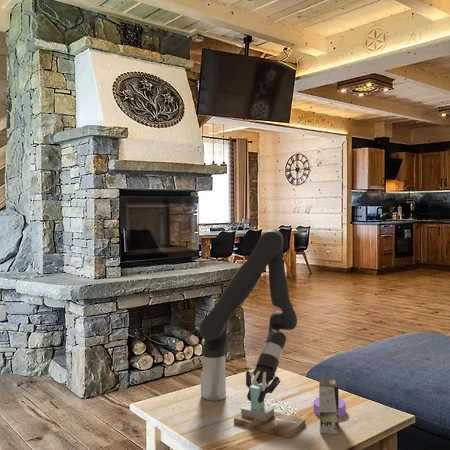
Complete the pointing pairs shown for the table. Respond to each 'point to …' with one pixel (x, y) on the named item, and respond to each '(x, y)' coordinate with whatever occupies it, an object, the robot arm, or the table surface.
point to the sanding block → (257, 406)
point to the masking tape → (341, 407)
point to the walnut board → (273, 424)
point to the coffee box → (329, 405)
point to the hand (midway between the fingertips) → (254, 400)
